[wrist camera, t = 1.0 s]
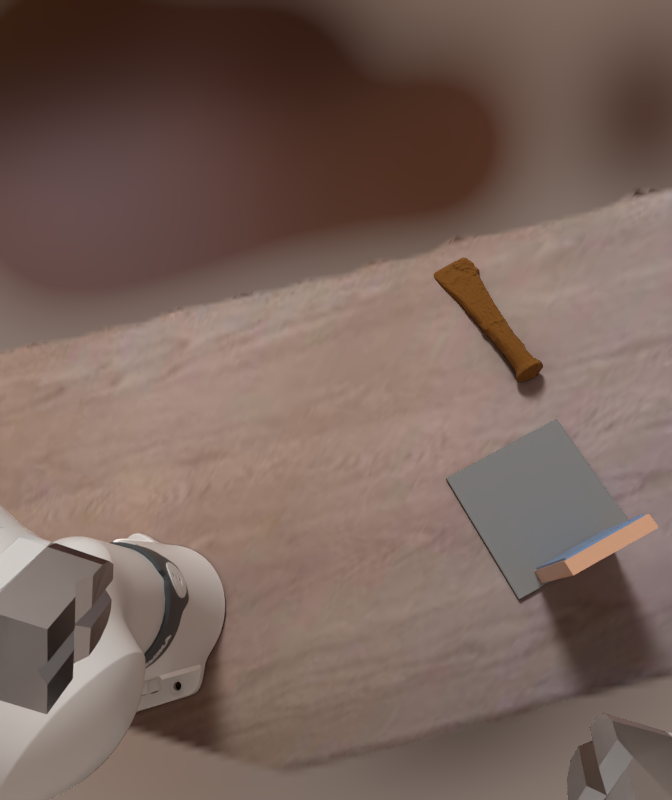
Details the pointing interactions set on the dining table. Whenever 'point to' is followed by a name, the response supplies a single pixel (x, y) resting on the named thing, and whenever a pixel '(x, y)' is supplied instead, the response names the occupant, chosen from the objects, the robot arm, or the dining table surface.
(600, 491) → the mat
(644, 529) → the tile
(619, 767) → the robot arm
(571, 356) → the dining table surface
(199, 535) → the dining table surface
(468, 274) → the primitive tool
